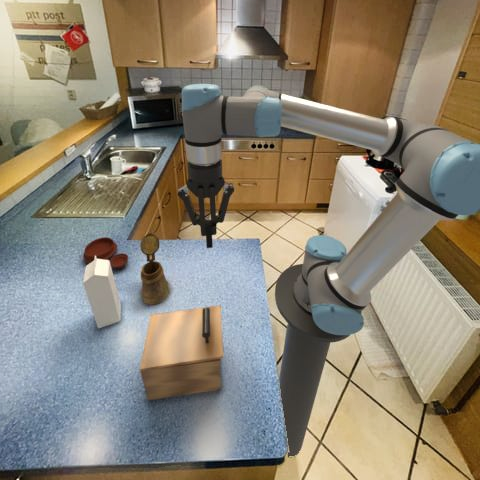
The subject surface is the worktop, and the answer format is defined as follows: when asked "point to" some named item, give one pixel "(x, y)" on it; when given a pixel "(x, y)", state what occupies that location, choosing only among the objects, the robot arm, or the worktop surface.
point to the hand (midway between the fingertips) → (209, 244)
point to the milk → (102, 292)
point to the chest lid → (183, 338)
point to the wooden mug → (152, 273)
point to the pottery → (104, 252)
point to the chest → (182, 379)
